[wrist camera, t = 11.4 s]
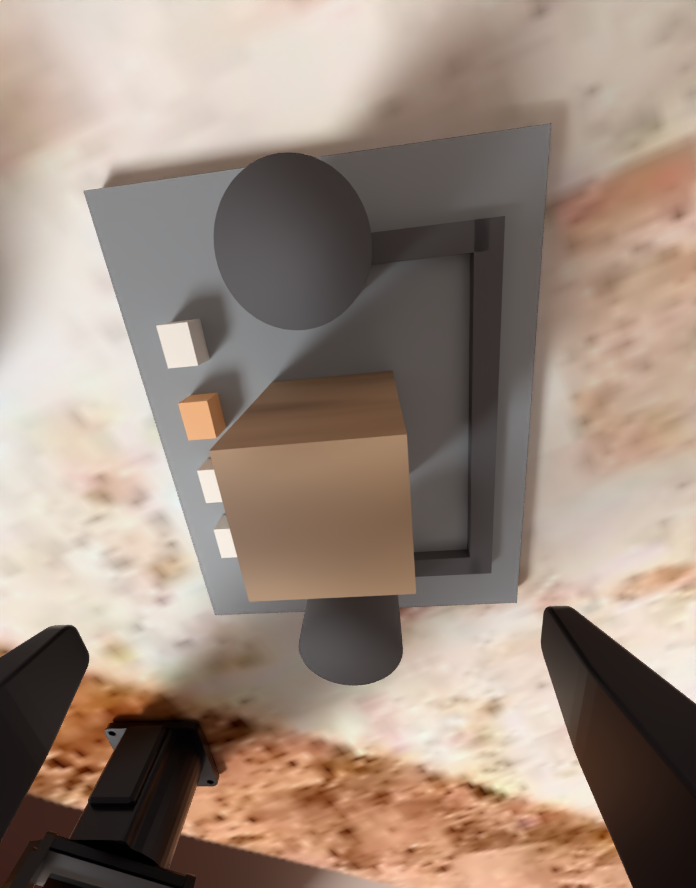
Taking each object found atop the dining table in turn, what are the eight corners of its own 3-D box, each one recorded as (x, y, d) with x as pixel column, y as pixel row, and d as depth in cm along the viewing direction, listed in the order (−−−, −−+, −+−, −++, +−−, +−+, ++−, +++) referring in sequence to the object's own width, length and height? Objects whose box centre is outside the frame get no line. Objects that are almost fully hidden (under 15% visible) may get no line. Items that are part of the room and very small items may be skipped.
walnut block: (400, 480, 18) (416, 593, 12) (291, 488, 19) (249, 601, 12) (392, 370, 16) (406, 434, 10) (271, 382, 17) (209, 451, 10)
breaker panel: (511, 591, 21) (525, 621, 19) (220, 604, 23) (207, 633, 21) (541, 131, 14) (567, 109, 12) (97, 194, 15) (59, 183, 13)
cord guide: (487, 588, 20) (521, 681, 16) (321, 596, 21) (306, 686, 16) (501, 167, 13) (570, 110, 9) (252, 200, 14) (195, 165, 9)
